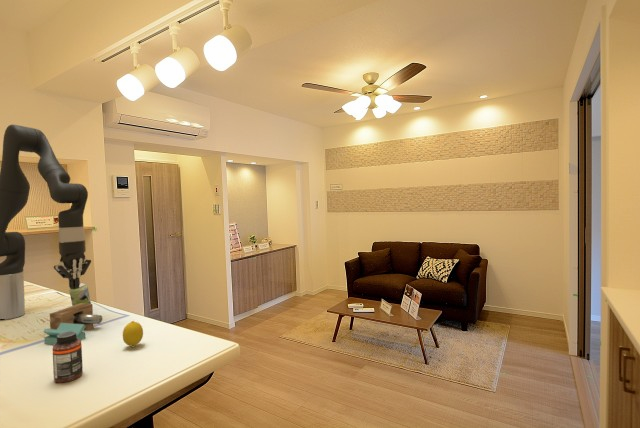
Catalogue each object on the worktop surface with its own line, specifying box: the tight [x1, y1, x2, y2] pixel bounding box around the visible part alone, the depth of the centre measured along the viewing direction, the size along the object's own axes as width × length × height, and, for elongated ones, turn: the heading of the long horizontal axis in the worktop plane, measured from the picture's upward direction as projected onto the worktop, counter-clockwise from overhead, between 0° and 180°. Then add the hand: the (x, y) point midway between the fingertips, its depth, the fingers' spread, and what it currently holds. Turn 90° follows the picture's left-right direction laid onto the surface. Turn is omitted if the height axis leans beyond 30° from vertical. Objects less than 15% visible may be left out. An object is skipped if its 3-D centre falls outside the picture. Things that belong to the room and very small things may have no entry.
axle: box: [73, 314, 103, 325], centre depth 120 cm, size 14×3×3 cm, turn 79°
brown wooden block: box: [49, 303, 95, 331], centre depth 120 cm, size 10×12×7 cm
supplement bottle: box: [52, 331, 84, 383], centre depth 86 cm, size 6×6×11 cm
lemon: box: [122, 320, 144, 348], centre depth 104 cm, size 6×6×8 cm
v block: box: [42, 323, 86, 346], centre depth 109 cm, size 9×7×5 cm
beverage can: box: [69, 282, 92, 306], centre depth 136 cm, size 6×7×12 cm
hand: (74, 288), depth 119 cm, fingers closed
